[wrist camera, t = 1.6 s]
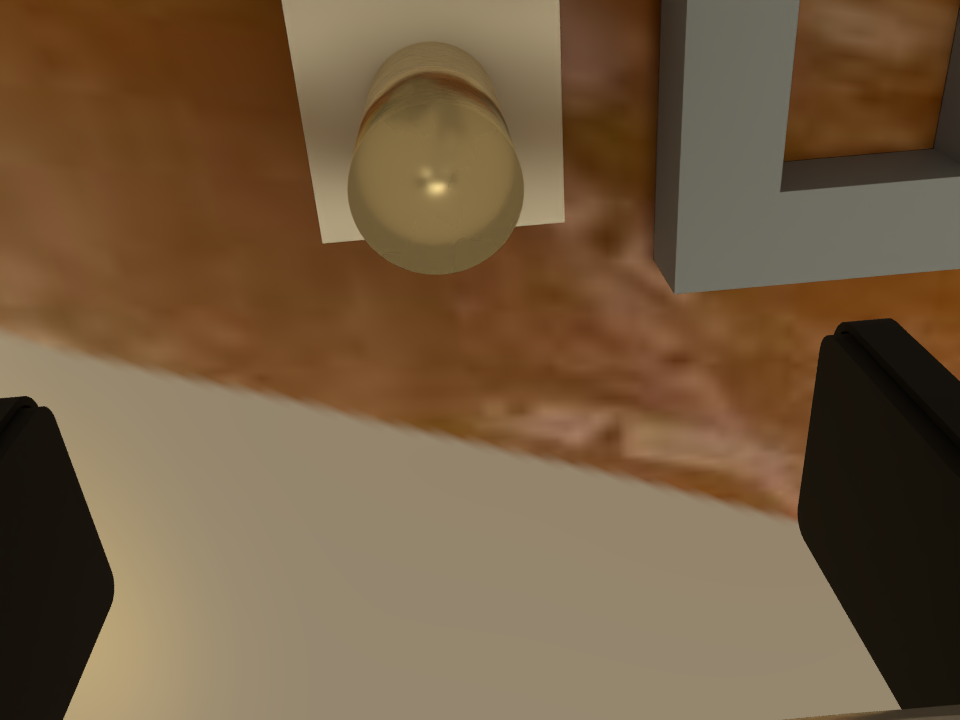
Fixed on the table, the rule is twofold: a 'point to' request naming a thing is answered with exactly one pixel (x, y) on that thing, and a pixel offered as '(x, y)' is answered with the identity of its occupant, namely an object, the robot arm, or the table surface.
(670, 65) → the hole plate
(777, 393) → the table surface
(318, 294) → the table surface
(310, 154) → the beige square plate
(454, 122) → the brass peg
